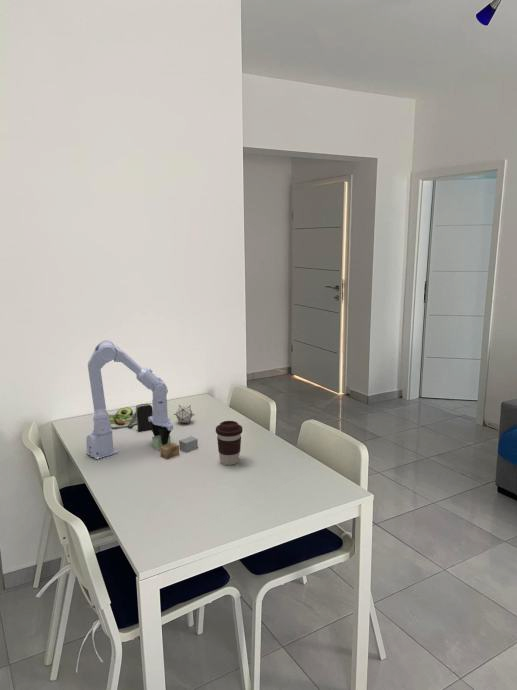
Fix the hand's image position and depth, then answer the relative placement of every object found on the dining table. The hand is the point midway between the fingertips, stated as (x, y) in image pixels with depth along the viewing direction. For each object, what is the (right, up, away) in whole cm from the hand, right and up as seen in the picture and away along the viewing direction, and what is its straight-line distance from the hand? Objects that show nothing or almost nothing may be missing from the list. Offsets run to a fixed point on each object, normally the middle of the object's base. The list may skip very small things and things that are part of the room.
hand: (161, 442), depth 212 cm
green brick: (0, -1, 0) cm, 1 cm away
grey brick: (+11, -2, -2) cm, 12 cm away
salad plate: (-23, +4, +27) cm, 36 cm away
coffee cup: (+28, -5, -14) cm, 32 cm away
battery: (-11, +2, +18) cm, 21 cm away
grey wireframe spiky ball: (+6, +4, +25) cm, 26 cm away
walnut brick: (+5, -4, -9) cm, 11 cm away
